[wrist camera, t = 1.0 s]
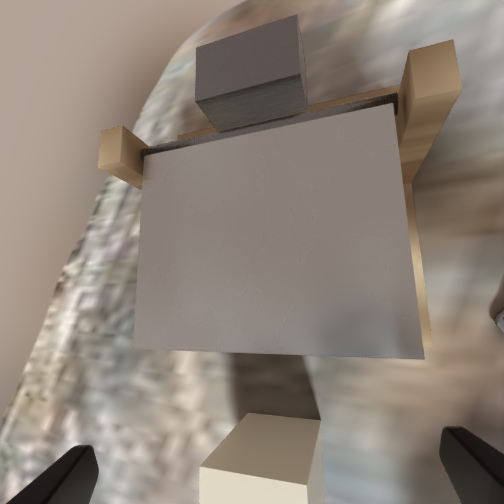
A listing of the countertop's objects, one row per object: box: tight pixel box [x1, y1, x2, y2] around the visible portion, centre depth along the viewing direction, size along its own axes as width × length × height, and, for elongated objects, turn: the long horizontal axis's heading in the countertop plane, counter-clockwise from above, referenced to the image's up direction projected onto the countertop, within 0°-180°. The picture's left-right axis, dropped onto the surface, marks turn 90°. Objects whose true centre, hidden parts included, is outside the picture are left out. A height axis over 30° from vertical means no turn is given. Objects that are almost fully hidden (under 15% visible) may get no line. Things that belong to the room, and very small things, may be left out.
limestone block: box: [199, 413, 326, 504], centre depth 15 cm, size 5×5×7 cm
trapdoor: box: [133, 15, 425, 360], centre depth 13 cm, size 14×12×2 cm
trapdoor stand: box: [98, 40, 462, 347], centre depth 16 cm, size 16×16×10 cm
